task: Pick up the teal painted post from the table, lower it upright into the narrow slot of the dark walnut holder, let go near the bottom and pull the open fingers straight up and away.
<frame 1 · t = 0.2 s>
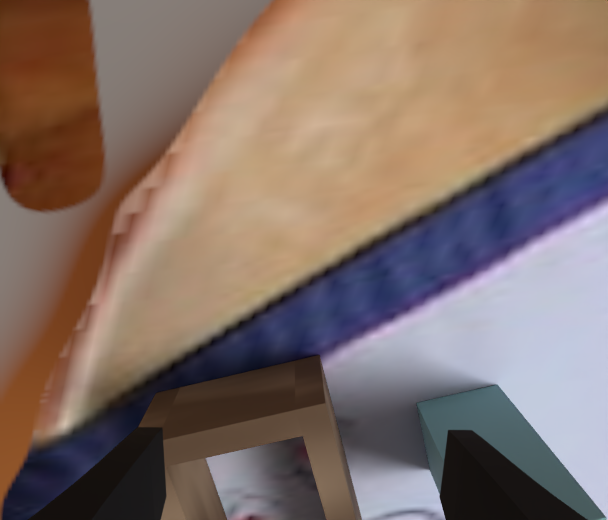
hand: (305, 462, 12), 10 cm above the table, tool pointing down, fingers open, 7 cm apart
walnut slot holder: (273, 488, 23), on the table
teal post: (462, 428, 23), on the table
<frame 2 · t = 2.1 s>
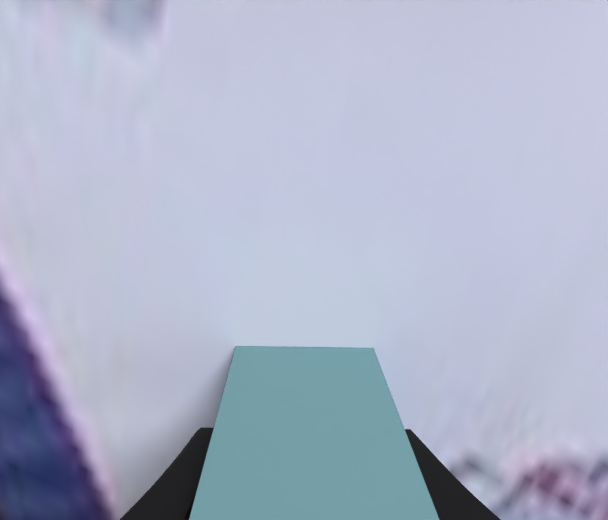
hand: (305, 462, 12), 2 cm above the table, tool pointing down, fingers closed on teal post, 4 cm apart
teal post: (303, 407, 14), on the table, touching gripper
when the fingers open (3 cm above the table, at t = 5.9 s): teal post stays where it is, resting in walnut slot holder.
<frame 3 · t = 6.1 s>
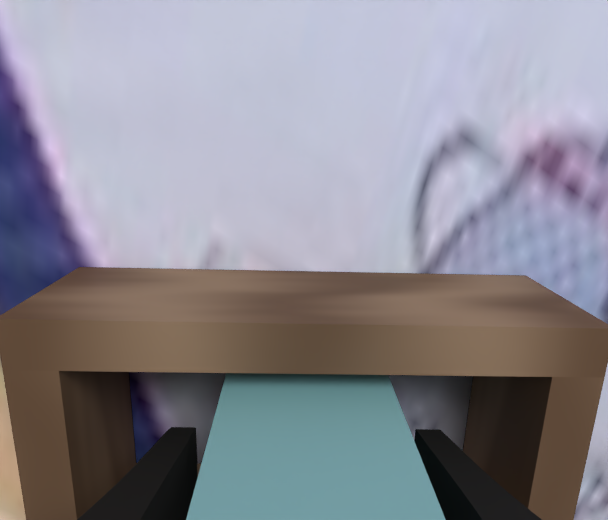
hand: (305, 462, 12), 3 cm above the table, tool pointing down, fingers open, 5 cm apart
walnut slot holder: (302, 390, 15), on the table
teal post: (303, 382, 15), resting in walnut slot holder
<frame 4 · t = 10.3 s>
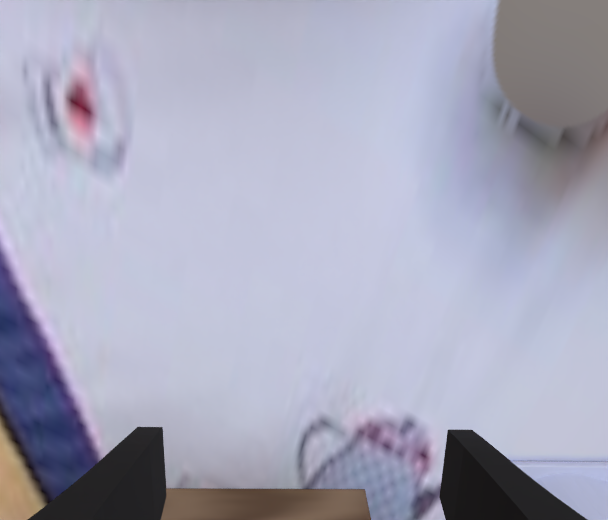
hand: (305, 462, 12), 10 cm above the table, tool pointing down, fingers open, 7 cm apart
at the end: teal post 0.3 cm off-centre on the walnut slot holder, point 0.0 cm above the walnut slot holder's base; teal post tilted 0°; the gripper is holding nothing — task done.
